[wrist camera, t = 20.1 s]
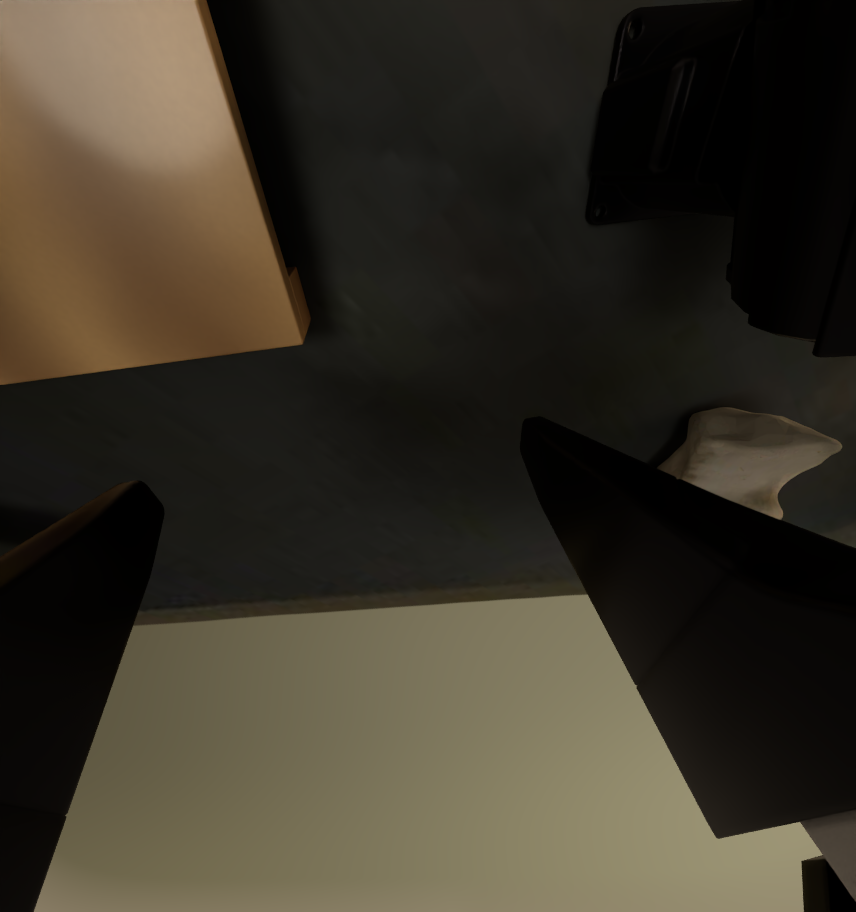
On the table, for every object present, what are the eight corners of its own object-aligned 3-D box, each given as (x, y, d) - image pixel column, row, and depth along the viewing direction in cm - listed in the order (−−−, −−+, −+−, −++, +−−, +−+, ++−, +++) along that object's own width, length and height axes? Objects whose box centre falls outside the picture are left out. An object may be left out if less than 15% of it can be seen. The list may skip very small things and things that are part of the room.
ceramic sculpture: (937, 472, 19) (730, 605, 29) (793, 390, 26) (662, 520, 35) (802, 456, 17) (621, 608, 26) (679, 369, 23) (570, 516, 32)
